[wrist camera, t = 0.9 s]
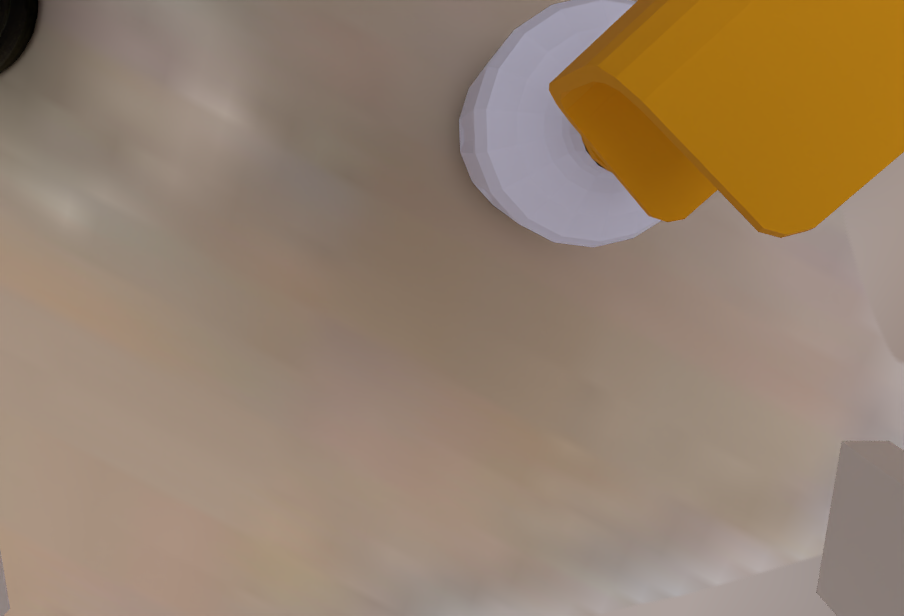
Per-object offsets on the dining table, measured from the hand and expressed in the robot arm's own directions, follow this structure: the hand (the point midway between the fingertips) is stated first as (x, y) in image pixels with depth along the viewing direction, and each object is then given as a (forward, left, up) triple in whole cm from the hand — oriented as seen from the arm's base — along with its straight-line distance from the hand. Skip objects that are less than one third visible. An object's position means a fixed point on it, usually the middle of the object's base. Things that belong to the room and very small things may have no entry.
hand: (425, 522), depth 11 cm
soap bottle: (-5, +8, -26) cm, 28 cm away
